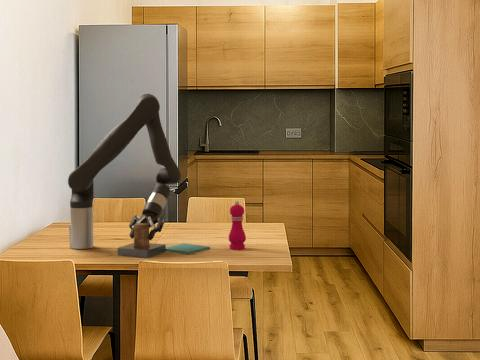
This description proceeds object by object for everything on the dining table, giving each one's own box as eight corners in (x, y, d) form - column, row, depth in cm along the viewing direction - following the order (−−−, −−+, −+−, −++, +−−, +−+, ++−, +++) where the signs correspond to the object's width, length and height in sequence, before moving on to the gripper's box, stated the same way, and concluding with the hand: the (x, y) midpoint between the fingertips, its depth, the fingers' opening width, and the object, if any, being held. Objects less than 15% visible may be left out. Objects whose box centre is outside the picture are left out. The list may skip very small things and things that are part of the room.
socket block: (117, 255, 307) (117, 247, 307) (136, 249, 320) (136, 242, 320) (147, 258, 301) (147, 250, 301) (165, 251, 314) (165, 244, 314)
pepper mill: (237, 250, 315) (237, 202, 313) (224, 248, 320) (224, 201, 318) (249, 248, 320) (249, 200, 319) (236, 246, 325) (236, 199, 323)
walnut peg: (134, 254, 310) (133, 224, 308) (140, 252, 313) (139, 223, 312) (143, 254, 308) (143, 225, 306) (149, 253, 312) (149, 223, 310)
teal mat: (162, 250, 316) (162, 248, 316) (183, 245, 328) (183, 243, 328) (188, 254, 308) (188, 251, 308) (209, 248, 320) (209, 246, 320)
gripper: (136, 200, 319) (121, 231, 309) (166, 201, 313) (152, 233, 303) (143, 211, 324) (129, 242, 315) (172, 212, 318) (159, 244, 309)
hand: (140, 238), depth 309 cm, fingers open, 8 cm apart
